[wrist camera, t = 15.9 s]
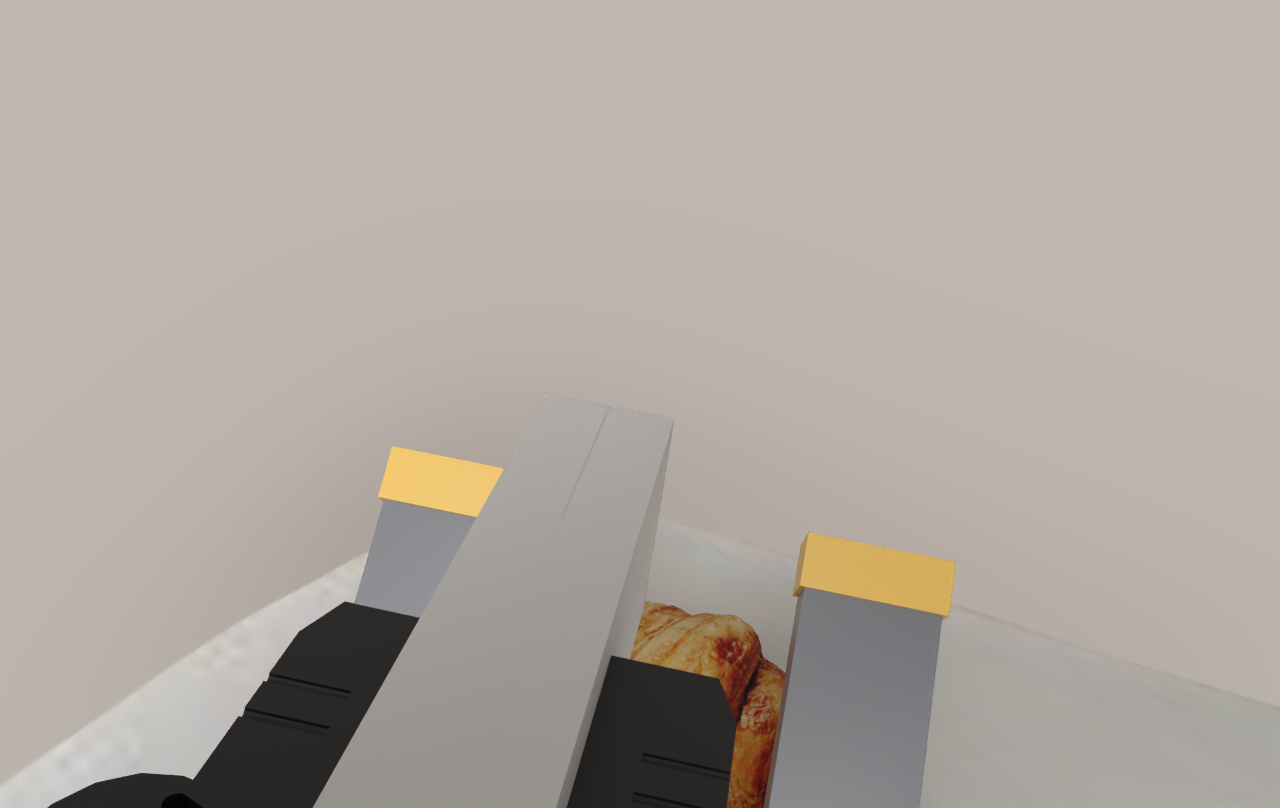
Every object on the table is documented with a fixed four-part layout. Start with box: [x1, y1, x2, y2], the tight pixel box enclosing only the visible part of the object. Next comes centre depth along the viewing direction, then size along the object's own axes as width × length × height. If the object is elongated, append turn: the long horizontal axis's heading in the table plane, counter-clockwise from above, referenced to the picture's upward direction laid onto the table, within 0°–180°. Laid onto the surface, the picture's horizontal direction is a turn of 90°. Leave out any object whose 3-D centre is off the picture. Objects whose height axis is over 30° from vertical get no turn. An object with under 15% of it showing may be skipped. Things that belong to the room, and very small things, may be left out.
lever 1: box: [354, 446, 504, 618], centre depth 39 cm, size 2×6×15 cm
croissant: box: [630, 602, 785, 808], centre depth 50 cm, size 21×10×8 cm, turn 52°
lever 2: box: [764, 532, 955, 808], centre depth 38 cm, size 2×6×15 cm
